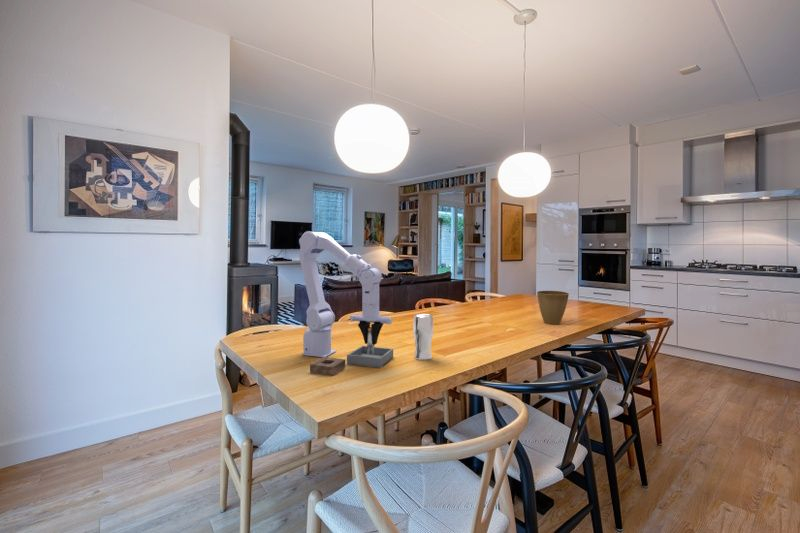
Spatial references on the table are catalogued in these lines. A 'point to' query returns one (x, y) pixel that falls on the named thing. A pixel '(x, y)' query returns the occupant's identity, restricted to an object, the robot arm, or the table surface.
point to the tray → (370, 357)
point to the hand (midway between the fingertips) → (370, 343)
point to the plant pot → (552, 305)
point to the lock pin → (370, 341)
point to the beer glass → (423, 336)
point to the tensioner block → (327, 366)
